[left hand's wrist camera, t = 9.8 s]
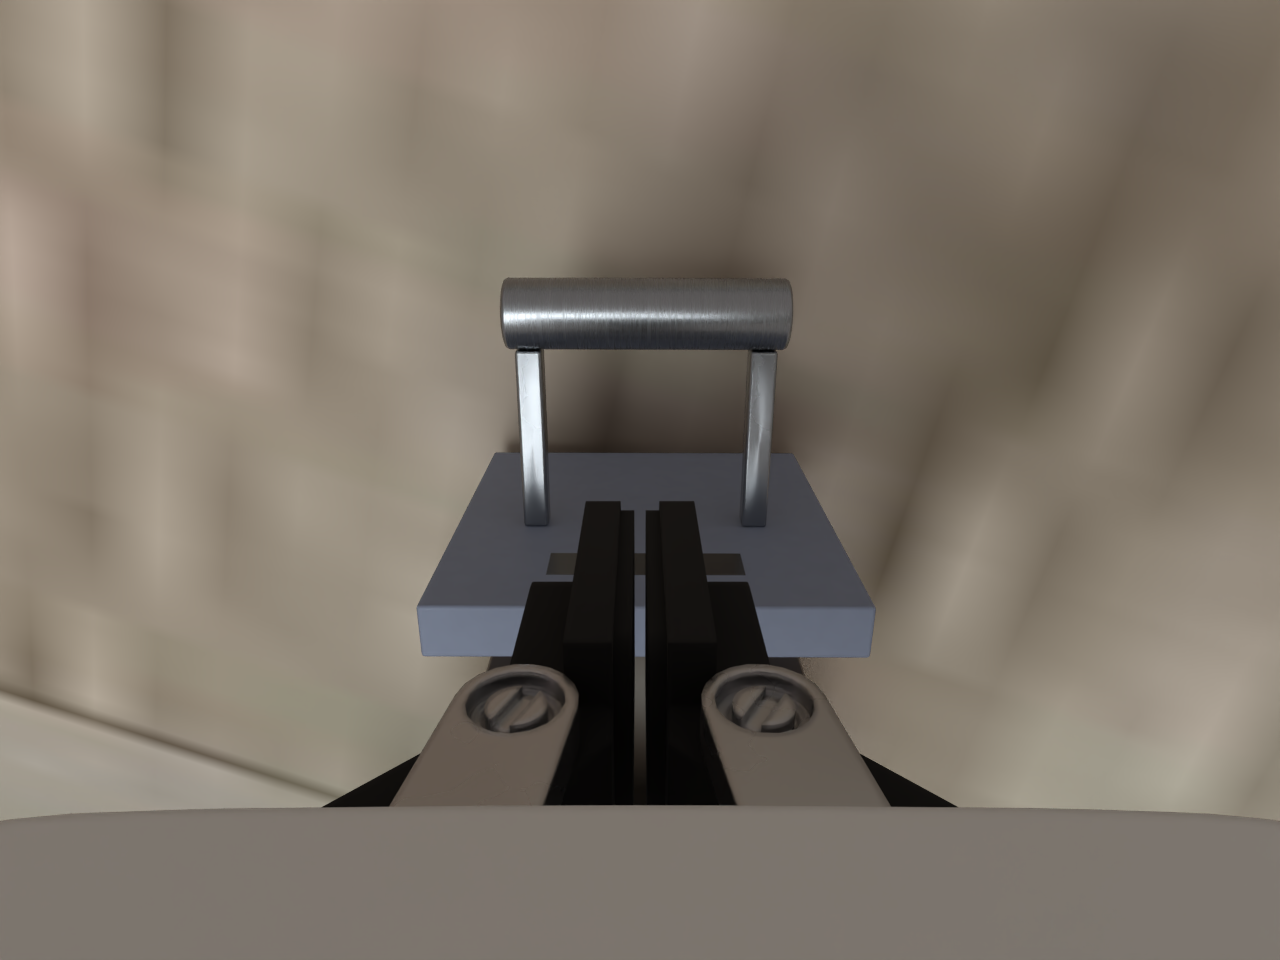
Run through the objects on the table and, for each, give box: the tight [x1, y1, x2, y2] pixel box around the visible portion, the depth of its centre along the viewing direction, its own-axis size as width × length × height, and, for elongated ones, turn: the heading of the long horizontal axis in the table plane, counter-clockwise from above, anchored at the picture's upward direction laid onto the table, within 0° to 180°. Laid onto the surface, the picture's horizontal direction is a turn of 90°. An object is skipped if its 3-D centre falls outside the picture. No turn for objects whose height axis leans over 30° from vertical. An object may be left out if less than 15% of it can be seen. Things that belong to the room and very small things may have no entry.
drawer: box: [417, 278, 876, 805], centre depth 22 cm, size 24×9×9 cm, turn 0°
